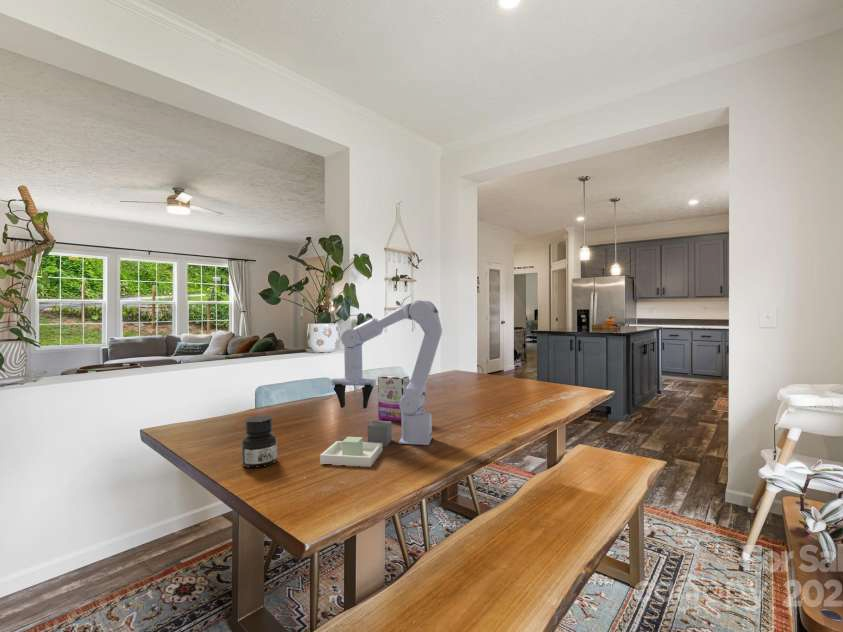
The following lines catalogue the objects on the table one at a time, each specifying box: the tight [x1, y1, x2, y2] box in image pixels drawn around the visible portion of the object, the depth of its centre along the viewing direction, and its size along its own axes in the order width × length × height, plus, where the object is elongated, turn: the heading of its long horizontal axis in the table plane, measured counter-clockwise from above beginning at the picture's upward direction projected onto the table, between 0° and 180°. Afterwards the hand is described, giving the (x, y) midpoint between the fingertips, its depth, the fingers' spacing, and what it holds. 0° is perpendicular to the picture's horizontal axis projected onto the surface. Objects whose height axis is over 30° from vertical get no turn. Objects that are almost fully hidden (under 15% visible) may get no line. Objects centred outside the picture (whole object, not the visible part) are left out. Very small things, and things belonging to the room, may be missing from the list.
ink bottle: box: [241, 415, 278, 468], centre depth 113 cm, size 10×9×12 cm
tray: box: [319, 440, 384, 468], centre depth 115 cm, size 14×12×2 cm
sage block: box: [342, 436, 364, 456], centre depth 116 cm, size 4×4×4 cm
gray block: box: [367, 420, 393, 447], centre depth 129 cm, size 6×6×6 cm
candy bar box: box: [377, 374, 410, 423], centre depth 155 cm, size 11×5×16 cm, turn 62°
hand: (354, 407), depth 135 cm, fingers open, 7 cm apart
